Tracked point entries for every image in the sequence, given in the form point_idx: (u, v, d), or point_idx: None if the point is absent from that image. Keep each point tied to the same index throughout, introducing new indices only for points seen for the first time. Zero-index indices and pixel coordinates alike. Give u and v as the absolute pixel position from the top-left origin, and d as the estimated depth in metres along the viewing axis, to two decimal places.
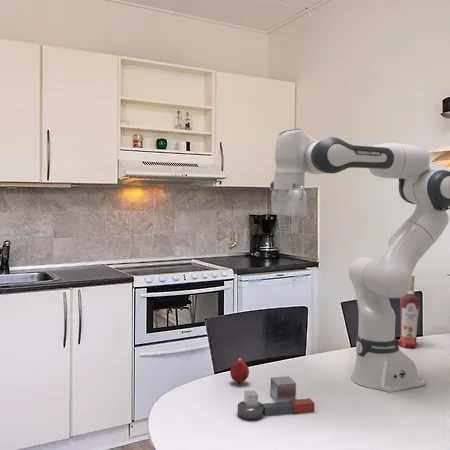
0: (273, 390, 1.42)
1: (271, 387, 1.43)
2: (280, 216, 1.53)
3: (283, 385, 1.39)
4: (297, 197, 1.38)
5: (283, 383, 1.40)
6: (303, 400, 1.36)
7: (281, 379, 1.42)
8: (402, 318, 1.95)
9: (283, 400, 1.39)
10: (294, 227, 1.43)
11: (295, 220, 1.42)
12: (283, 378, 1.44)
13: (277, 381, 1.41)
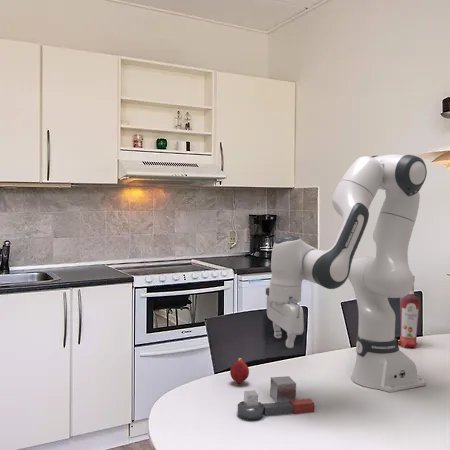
0: (273, 390, 1.42)
1: (271, 387, 1.43)
2: (275, 323, 1.46)
3: (283, 385, 1.39)
4: (293, 314, 1.31)
5: (283, 383, 1.40)
6: (303, 400, 1.36)
7: (281, 379, 1.42)
8: (401, 318, 1.95)
9: (283, 400, 1.39)
10: (290, 342, 1.36)
11: (291, 336, 1.35)
12: (283, 378, 1.44)
13: (277, 381, 1.41)
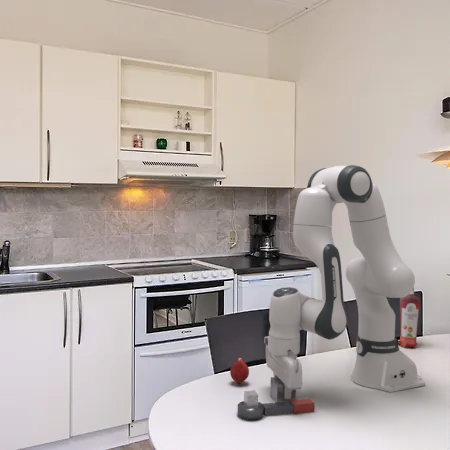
0: (273, 390, 1.42)
1: (271, 387, 1.43)
2: None
3: (283, 385, 1.39)
4: (292, 369, 1.32)
5: (283, 383, 1.40)
6: (303, 400, 1.36)
7: None
8: (402, 318, 1.95)
9: (283, 400, 1.39)
10: (287, 393, 1.38)
11: (288, 388, 1.37)
12: None
13: (277, 381, 1.41)
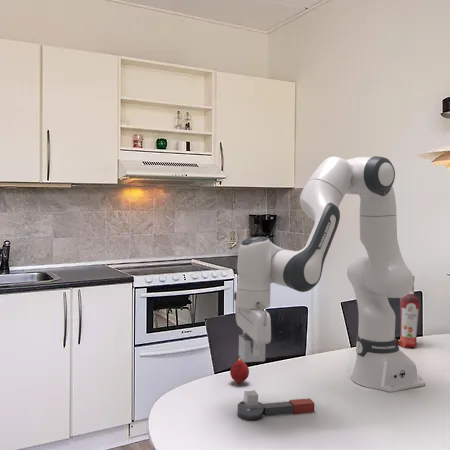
0: (241, 347, 1.30)
1: (239, 344, 1.32)
2: None
3: (251, 341, 1.28)
4: (259, 322, 1.21)
5: (251, 339, 1.28)
6: (303, 400, 1.36)
7: (249, 336, 1.31)
8: (401, 318, 1.95)
9: (251, 358, 1.28)
10: (256, 350, 1.27)
11: (257, 344, 1.25)
12: None
13: (245, 337, 1.30)
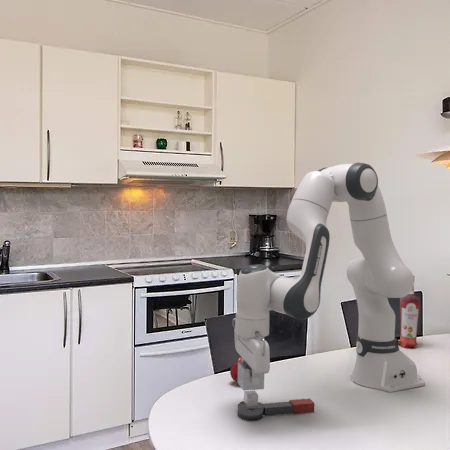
0: (240, 375, 1.31)
1: (238, 372, 1.32)
2: None
3: (250, 370, 1.28)
4: (258, 352, 1.21)
5: (250, 368, 1.29)
6: (303, 400, 1.36)
7: None
8: (401, 318, 1.95)
9: (250, 386, 1.28)
10: (255, 379, 1.27)
11: (256, 372, 1.26)
12: None
13: (244, 365, 1.30)
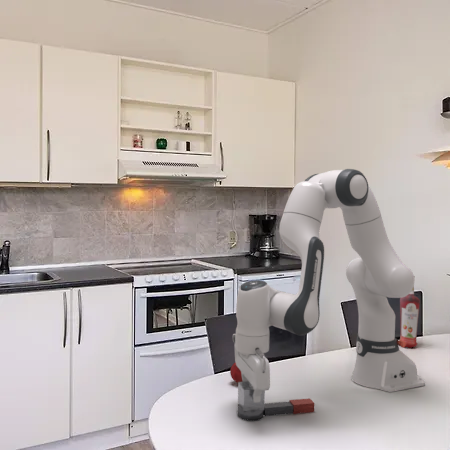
0: (240, 395, 1.31)
1: (239, 392, 1.33)
2: None
3: (251, 390, 1.28)
4: (258, 369, 1.21)
5: (251, 388, 1.29)
6: (303, 400, 1.36)
7: (249, 384, 1.32)
8: (401, 318, 1.95)
9: (251, 407, 1.29)
10: (256, 397, 1.26)
11: (257, 390, 1.25)
12: None
13: (244, 386, 1.31)
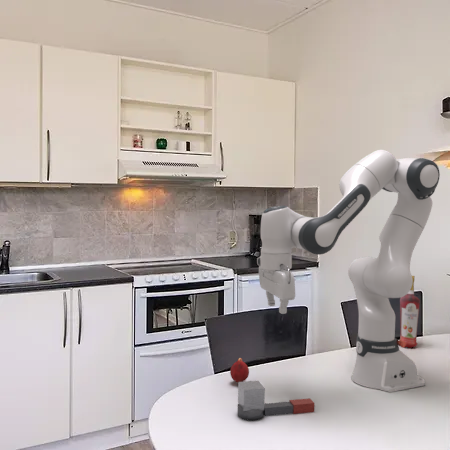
0: (240, 395, 1.31)
1: (239, 392, 1.33)
2: (268, 292, 1.49)
3: (251, 390, 1.28)
4: (284, 280, 1.34)
5: (251, 388, 1.29)
6: (303, 400, 1.36)
7: (249, 384, 1.32)
8: (401, 318, 1.95)
9: (251, 407, 1.29)
10: (283, 308, 1.39)
11: (283, 302, 1.38)
12: (252, 383, 1.33)
13: (244, 386, 1.31)
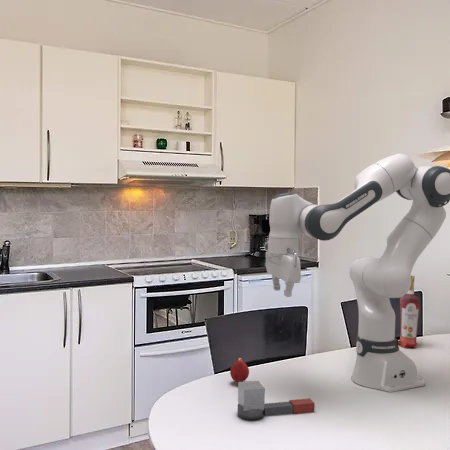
0: (240, 395, 1.31)
1: (239, 392, 1.33)
2: (274, 277, 1.54)
3: (251, 390, 1.28)
4: (290, 264, 1.39)
5: (251, 388, 1.29)
6: (303, 400, 1.36)
7: (249, 384, 1.32)
8: (402, 318, 1.95)
9: (251, 407, 1.29)
10: (288, 292, 1.44)
11: (289, 285, 1.42)
12: (252, 383, 1.33)
13: (244, 386, 1.31)
